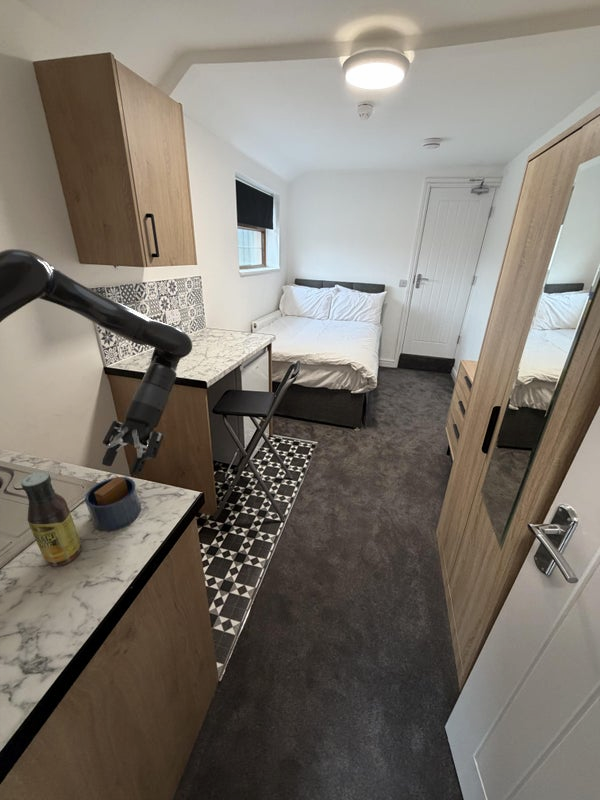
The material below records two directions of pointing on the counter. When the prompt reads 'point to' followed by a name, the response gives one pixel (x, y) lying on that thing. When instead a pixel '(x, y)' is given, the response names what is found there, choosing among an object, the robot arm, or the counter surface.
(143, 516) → the counter surface
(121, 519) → the pot
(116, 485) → the wooden toy block
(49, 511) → the sauce bottle
